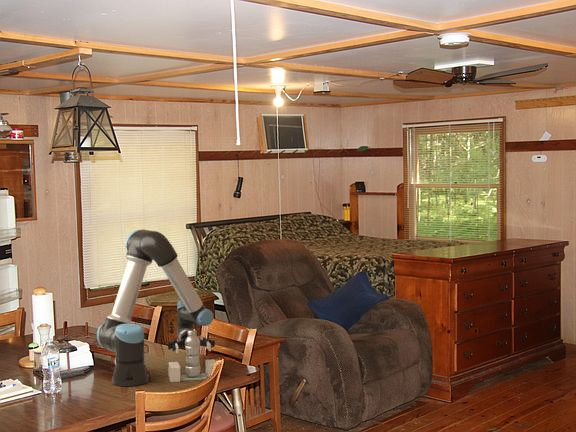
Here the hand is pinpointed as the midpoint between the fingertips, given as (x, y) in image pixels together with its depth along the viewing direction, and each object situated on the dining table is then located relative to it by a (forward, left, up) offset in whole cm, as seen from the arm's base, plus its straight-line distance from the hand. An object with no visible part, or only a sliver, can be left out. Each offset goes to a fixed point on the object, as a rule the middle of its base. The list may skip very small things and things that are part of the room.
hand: (193, 349), depth 325 cm
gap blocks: (+2, +3, -13) cm, 13 cm away
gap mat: (+2, +3, -13) cm, 13 cm away
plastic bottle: (+2, +3, -13) cm, 13 cm away
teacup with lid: (-28, +65, -13) cm, 71 cm away
